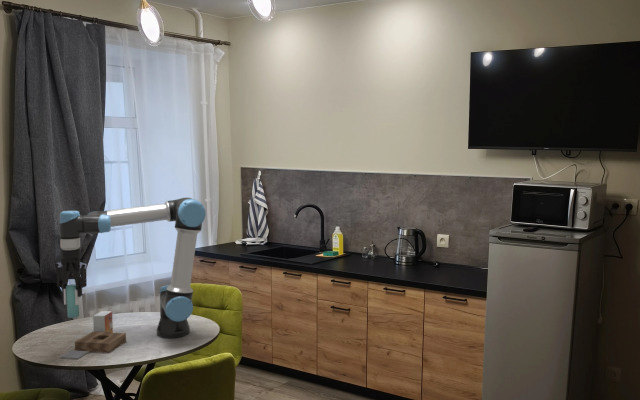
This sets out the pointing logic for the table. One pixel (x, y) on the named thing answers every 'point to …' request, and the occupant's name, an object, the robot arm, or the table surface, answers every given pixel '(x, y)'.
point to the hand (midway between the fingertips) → (72, 303)
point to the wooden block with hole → (100, 342)
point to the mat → (74, 354)
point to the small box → (103, 322)
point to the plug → (71, 301)
